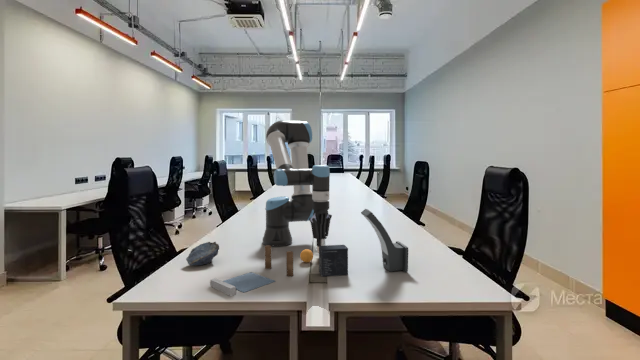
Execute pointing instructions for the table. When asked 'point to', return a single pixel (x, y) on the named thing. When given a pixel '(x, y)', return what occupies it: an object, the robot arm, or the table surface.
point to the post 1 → (267, 257)
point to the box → (333, 260)
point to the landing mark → (248, 281)
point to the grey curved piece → (388, 246)
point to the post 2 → (289, 263)
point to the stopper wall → (223, 286)
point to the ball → (306, 255)
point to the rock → (203, 253)
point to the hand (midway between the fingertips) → (320, 253)
